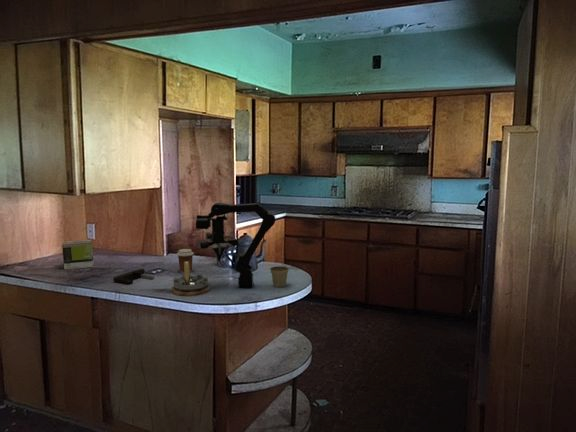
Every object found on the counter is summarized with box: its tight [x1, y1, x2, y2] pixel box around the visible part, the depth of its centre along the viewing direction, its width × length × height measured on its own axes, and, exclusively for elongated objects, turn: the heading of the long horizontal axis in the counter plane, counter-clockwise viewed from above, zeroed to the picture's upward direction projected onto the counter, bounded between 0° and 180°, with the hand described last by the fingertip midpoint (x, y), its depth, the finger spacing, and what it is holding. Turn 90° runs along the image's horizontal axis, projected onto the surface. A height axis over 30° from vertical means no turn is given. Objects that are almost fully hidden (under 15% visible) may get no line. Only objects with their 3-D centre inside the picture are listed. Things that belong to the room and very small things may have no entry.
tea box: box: [61, 239, 95, 270], centre depth 268 cm, size 15×10×15 cm
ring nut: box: [172, 261, 209, 292], centre depth 222 cm, size 16×16×14 cm
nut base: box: [171, 283, 211, 297], centre depth 224 cm, size 18×18×2 cm
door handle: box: [112, 268, 155, 286], centre depth 243 cm, size 3×20×16 cm
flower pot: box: [269, 265, 290, 288], centre depth 230 cm, size 9×9×9 cm
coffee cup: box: [176, 248, 195, 274], centre depth 257 cm, size 9×9×12 cm
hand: (218, 260), depth 227 cm, fingers closed
